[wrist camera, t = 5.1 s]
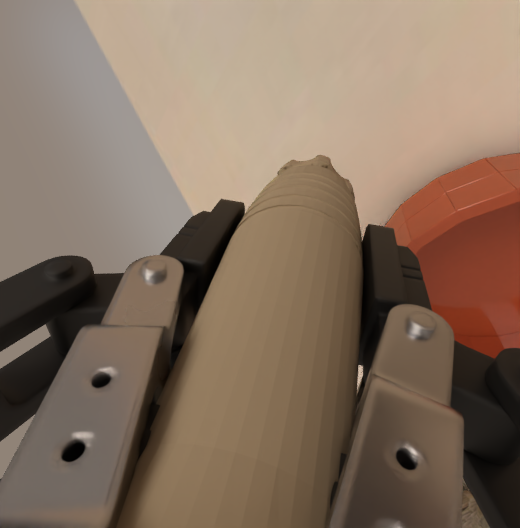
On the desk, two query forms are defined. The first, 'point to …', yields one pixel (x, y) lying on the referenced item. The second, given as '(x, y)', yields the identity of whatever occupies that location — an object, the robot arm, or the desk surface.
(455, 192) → the bowl
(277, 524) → the handle
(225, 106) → the desk surface
